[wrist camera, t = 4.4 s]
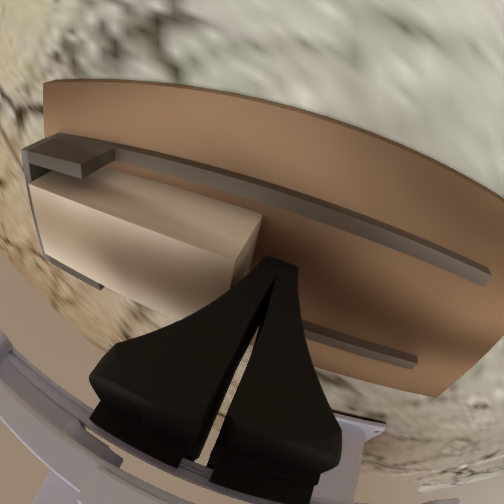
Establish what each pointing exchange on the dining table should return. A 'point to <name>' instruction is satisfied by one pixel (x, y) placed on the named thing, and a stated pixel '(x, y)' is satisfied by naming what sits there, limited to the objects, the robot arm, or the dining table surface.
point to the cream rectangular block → (145, 237)
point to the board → (310, 217)
